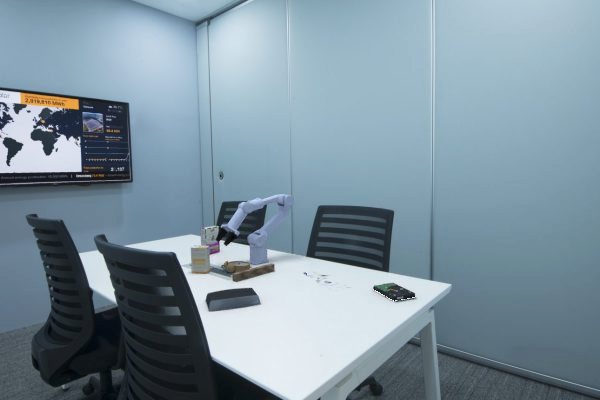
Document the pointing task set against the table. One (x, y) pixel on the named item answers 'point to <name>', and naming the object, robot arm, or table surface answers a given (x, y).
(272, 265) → the walnut board
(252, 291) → the external hard drive
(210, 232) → the candy bar box
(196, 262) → the supplement box
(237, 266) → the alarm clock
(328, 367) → the table surface
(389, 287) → the disk drive
